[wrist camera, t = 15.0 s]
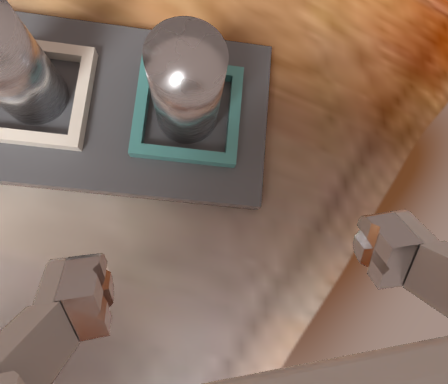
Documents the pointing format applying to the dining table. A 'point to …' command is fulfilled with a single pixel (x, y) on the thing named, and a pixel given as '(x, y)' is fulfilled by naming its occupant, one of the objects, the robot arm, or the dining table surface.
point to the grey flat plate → (136, 124)
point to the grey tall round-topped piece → (27, 74)
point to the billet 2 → (185, 76)
